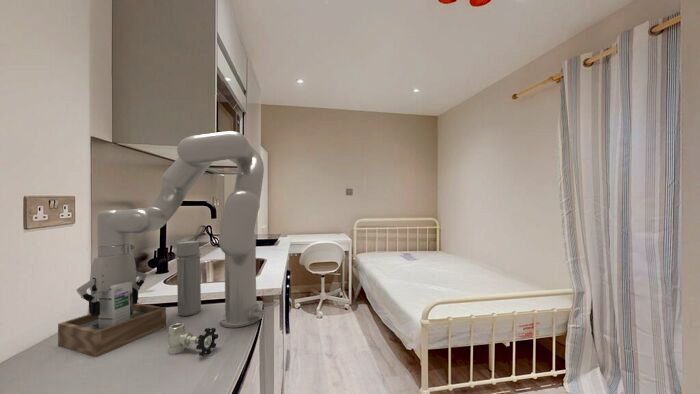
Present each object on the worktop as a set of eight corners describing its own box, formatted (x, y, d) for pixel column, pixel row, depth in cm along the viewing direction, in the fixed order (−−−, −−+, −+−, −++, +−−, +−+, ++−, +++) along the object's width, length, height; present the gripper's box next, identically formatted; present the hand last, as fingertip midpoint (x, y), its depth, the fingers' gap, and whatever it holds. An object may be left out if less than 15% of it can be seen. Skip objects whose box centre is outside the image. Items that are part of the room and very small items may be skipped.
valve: (159, 357, 70) (199, 362, 67) (159, 330, 70) (199, 334, 67) (181, 344, 76) (218, 348, 73) (180, 319, 77) (218, 322, 74)
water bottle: (182, 309, 102) (181, 241, 102) (205, 308, 103) (204, 240, 103) (169, 320, 93) (168, 244, 93) (194, 318, 94) (193, 243, 94)
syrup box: (113, 337, 79) (113, 286, 79) (97, 335, 80) (97, 285, 81) (133, 328, 85) (133, 280, 85) (118, 327, 86) (118, 279, 86)
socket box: (166, 327, 87) (165, 307, 87) (95, 357, 71) (95, 333, 71) (130, 319, 94) (129, 301, 94) (58, 345, 77) (58, 323, 78)
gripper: (138, 246, 92) (138, 298, 92) (69, 256, 76) (70, 319, 76) (152, 247, 90) (153, 300, 89) (85, 257, 74) (85, 322, 73)
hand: (115, 309), depth 83 cm, fingers open, 9 cm apart
